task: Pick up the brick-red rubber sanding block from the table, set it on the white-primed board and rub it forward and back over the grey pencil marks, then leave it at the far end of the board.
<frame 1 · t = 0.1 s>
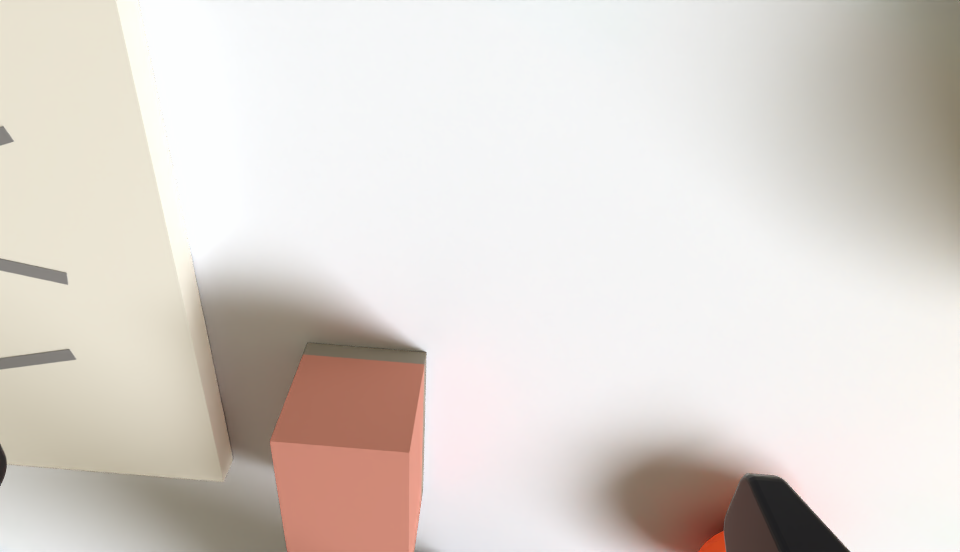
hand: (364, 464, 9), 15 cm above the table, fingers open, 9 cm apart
clementine: (750, 526, 32), on the table
board: (11, 255, 25), on the table
sanding block: (370, 419, 29), on the table
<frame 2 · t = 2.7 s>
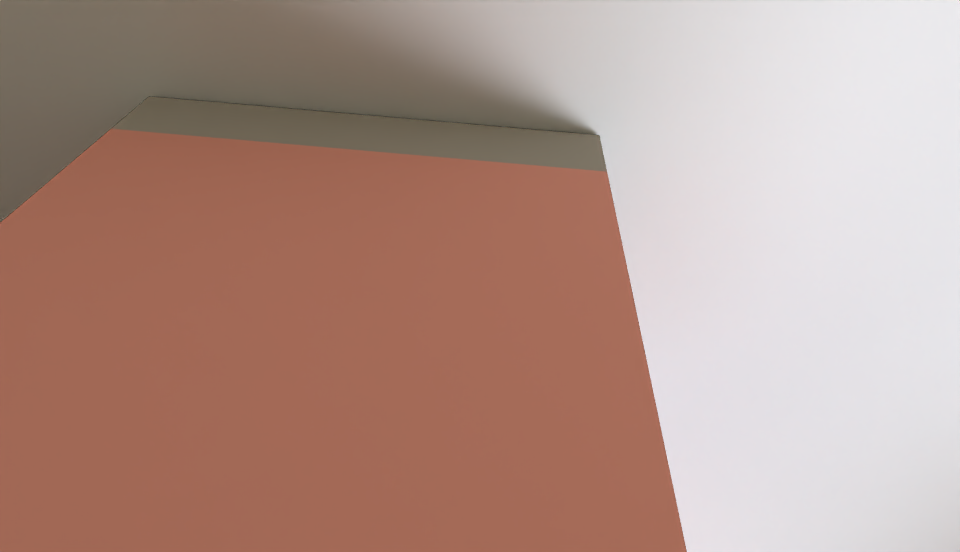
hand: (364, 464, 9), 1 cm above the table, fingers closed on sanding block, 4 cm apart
sanding block: (378, 402, 9), on the table, touching gripper
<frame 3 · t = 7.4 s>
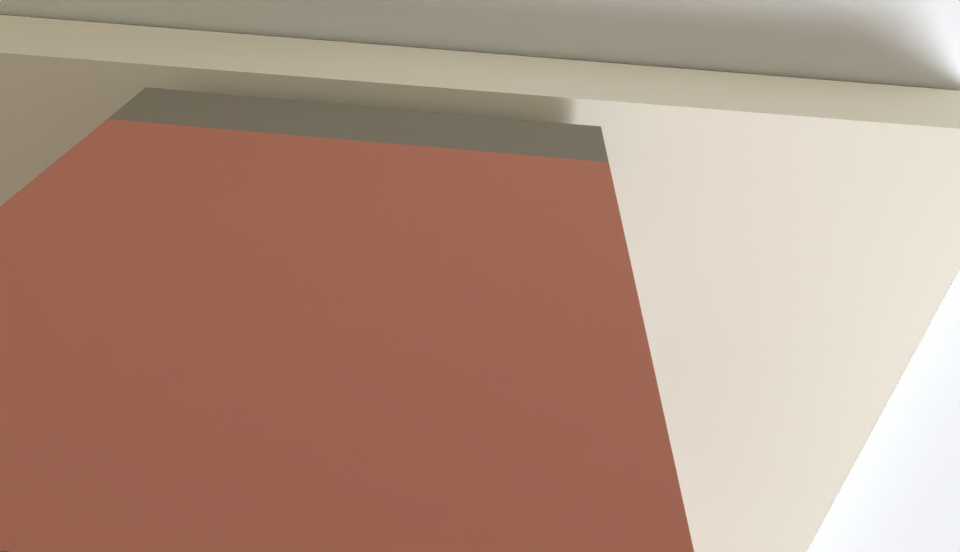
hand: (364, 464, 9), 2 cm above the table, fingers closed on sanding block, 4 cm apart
sanding block: (378, 398, 9), point 1 cm above the table, touching gripper
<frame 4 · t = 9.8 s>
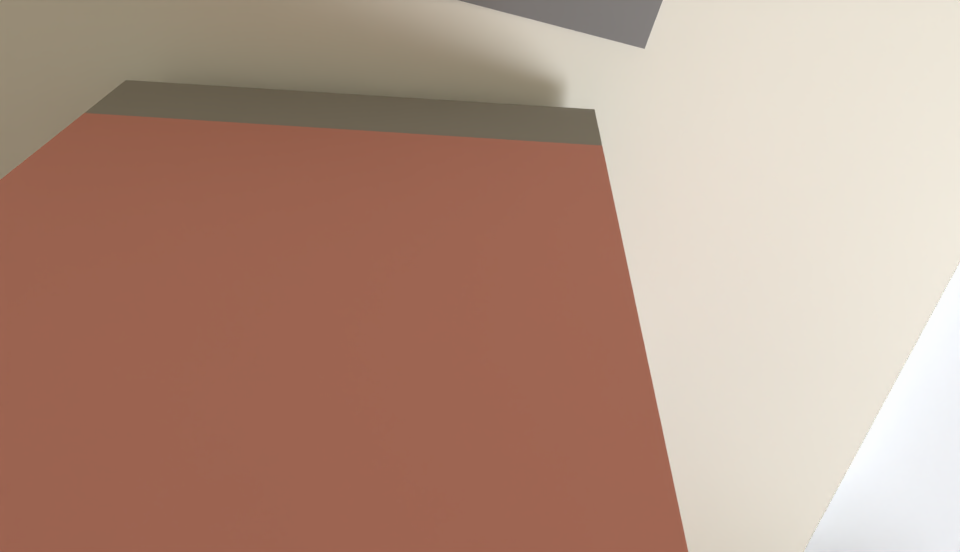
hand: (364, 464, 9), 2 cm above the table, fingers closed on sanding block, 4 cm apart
sanding block: (375, 393, 9), point 1 cm above the table, touching gripper
when the fingers open (2 cm above the table, at t = 12.2 s): sanding block stays where it is, resting on board.
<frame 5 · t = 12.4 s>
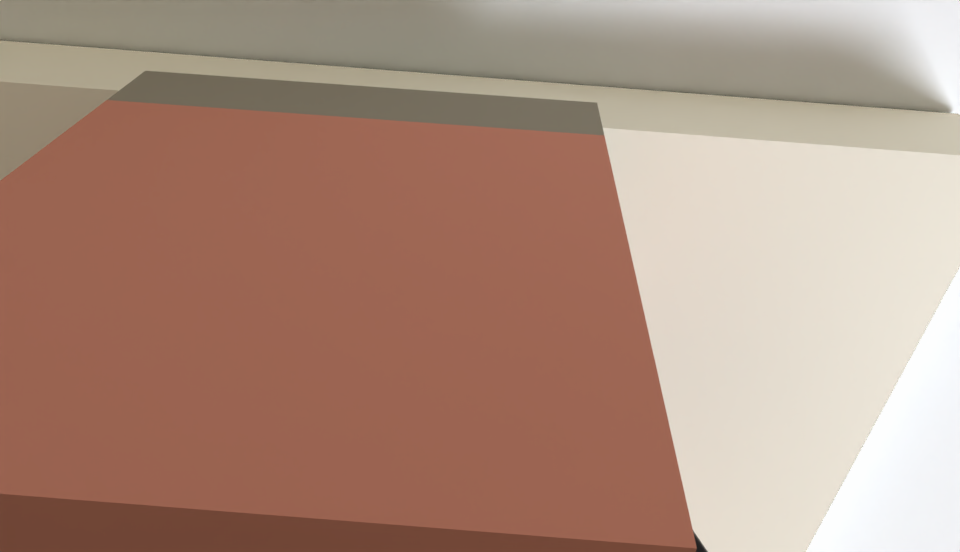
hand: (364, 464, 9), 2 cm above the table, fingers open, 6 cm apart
sanding block: (380, 382, 9), point 1 cm above the table, touching board
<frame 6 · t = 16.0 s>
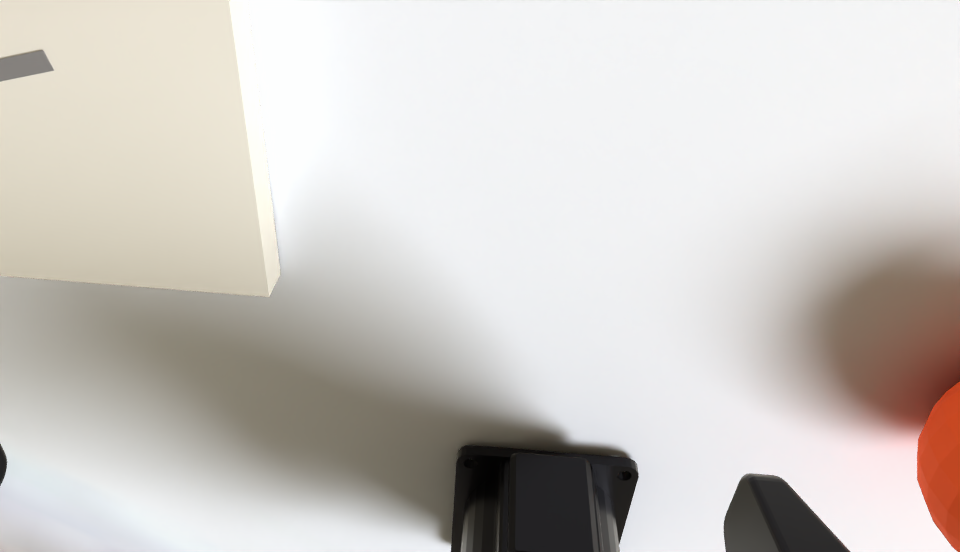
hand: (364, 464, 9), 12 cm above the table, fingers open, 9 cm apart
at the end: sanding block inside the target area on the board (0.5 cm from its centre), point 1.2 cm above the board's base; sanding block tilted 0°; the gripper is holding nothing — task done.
